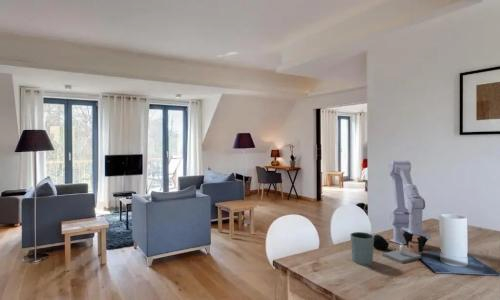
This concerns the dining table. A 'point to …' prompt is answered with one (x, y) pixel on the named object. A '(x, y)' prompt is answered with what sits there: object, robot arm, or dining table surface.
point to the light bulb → (382, 243)
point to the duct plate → (401, 255)
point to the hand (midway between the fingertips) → (414, 249)
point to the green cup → (362, 248)
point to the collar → (414, 247)
